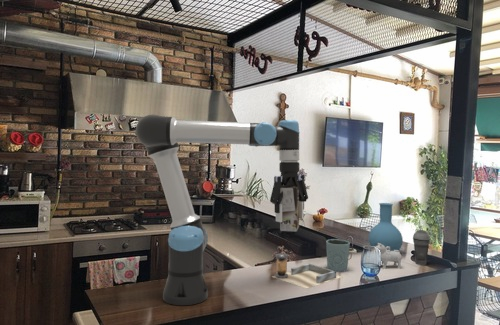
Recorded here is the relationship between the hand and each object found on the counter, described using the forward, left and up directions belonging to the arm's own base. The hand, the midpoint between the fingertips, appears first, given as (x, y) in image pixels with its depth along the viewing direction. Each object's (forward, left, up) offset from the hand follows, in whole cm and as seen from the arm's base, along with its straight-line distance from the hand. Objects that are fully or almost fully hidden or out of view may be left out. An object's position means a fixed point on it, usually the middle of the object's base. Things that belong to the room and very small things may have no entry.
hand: (289, 220), depth 147 cm
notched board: (+11, 0, -25) cm, 27 cm away
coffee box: (0, 0, -4) cm, 4 cm away
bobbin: (+3, +7, -24) cm, 25 cm away
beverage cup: (+69, -18, -25) cm, 75 cm away
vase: (+76, +4, -25) cm, 80 cm away
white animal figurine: (+52, -11, -25) cm, 58 cm away
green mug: (+32, +1, -25) cm, 40 cm away
